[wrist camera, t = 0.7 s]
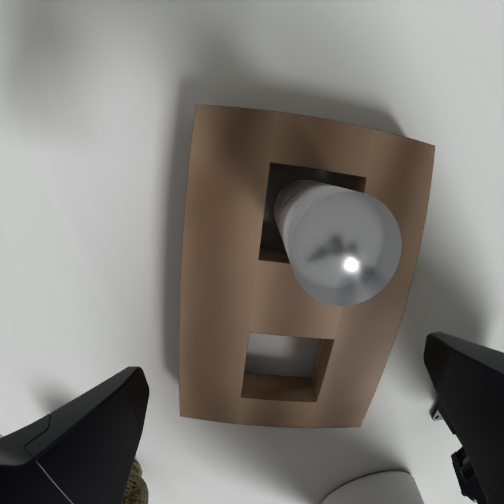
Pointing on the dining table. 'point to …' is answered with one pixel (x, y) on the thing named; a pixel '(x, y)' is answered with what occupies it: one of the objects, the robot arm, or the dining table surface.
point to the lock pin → (337, 241)
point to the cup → (136, 487)
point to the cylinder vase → (378, 490)
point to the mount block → (285, 268)
